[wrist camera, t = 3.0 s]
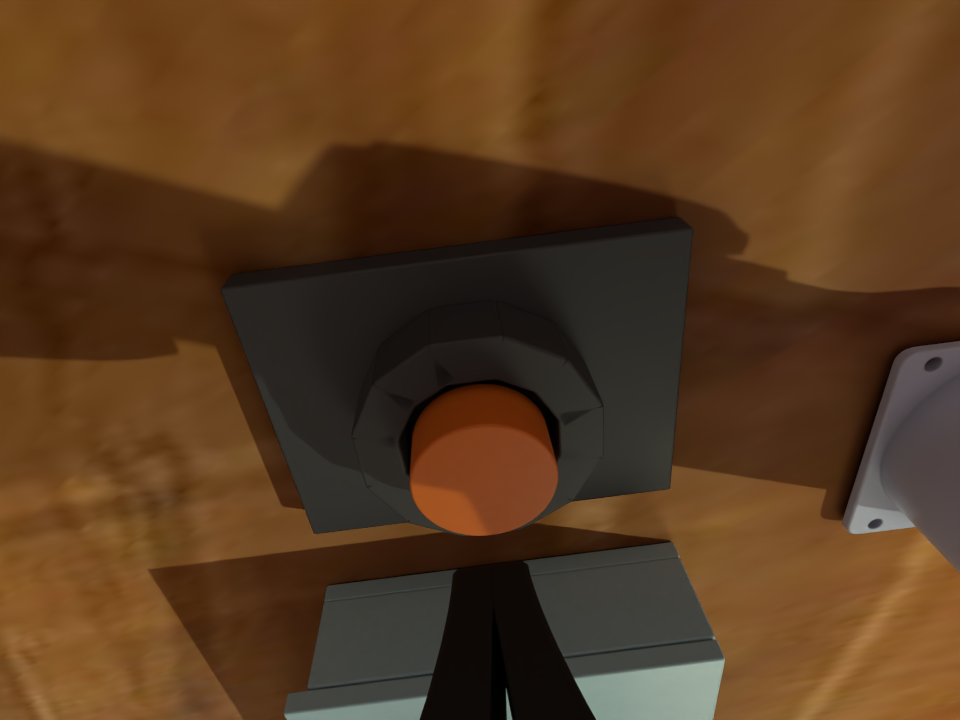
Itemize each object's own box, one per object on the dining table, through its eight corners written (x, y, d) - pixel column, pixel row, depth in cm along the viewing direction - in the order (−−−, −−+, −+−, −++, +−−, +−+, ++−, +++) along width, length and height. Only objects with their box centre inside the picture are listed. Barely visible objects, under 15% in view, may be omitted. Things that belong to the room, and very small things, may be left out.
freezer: (396, 763, 29) (391, 859, 26) (326, 585, 22) (306, 688, 18) (654, 731, 29) (682, 823, 26) (673, 541, 21) (716, 636, 18)
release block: (680, 215, 15) (730, 255, 12) (660, 469, 20) (694, 537, 17) (231, 273, 15) (187, 325, 12) (319, 512, 20) (300, 586, 17)
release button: (543, 373, 14) (556, 415, 13) (550, 479, 16) (561, 527, 14) (400, 392, 14) (396, 435, 13) (423, 496, 16) (422, 545, 14)
